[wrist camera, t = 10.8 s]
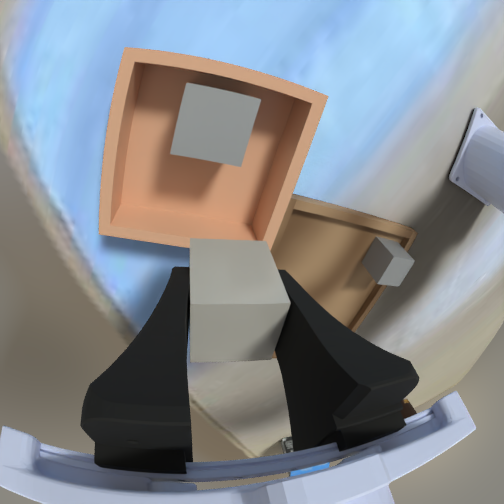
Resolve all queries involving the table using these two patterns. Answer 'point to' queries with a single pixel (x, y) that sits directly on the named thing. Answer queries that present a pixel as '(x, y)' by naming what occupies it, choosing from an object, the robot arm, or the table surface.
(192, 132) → the matte grey cube
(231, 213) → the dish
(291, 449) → the label tape cartridge
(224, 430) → the table surface
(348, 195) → the table surface
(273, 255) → the tray
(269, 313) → the pale grey cube block
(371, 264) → the plain gray cube
